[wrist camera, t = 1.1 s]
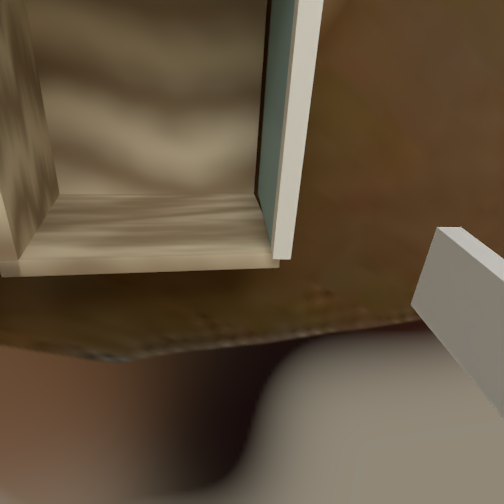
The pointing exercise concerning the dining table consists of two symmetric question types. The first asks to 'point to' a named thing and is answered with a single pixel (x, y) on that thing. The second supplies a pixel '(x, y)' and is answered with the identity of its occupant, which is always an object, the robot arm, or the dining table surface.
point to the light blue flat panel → (286, 115)
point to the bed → (130, 136)
